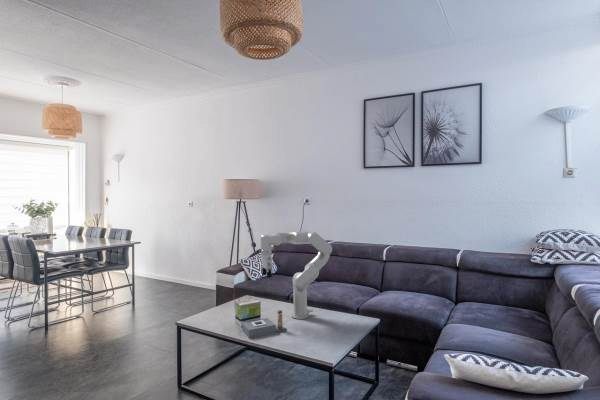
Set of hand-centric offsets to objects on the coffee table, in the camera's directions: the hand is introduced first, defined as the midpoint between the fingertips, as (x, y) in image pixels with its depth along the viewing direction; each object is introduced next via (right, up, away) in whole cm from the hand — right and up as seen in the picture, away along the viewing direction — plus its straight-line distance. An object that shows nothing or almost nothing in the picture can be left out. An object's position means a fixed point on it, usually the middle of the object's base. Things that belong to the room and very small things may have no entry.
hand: (266, 276), depth 255 cm
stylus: (+11, -30, -22) cm, 39 cm away
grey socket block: (-3, -31, -24) cm, 39 cm away
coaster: (+11, -31, -22) cm, 39 cm away
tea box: (-12, -31, -7) cm, 34 cm away
